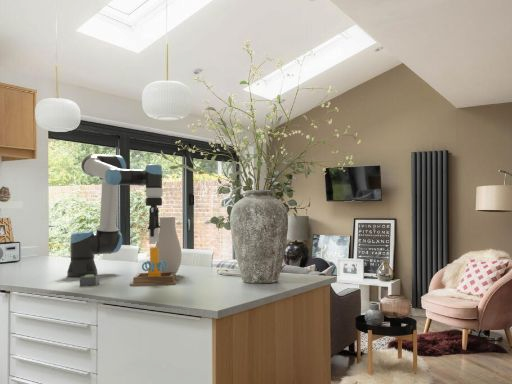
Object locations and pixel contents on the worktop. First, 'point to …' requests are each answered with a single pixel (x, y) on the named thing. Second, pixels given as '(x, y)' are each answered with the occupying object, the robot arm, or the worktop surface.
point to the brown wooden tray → (154, 279)
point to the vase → (169, 245)
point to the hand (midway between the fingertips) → (154, 242)
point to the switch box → (89, 281)
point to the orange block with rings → (154, 263)
